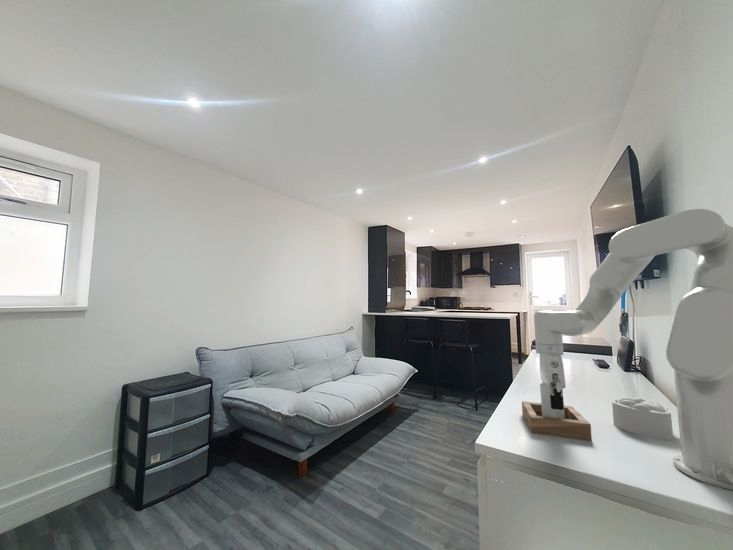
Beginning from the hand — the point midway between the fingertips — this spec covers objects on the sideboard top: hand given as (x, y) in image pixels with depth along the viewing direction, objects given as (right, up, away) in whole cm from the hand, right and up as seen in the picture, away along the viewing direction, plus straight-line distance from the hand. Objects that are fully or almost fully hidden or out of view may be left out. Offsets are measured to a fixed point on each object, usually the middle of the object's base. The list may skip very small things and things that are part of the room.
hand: (552, 403), depth 91 cm
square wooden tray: (0, -7, -1) cm, 7 cm away
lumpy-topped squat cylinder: (+26, -7, -3) cm, 27 cm away
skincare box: (0, -6, 0) cm, 6 cm away
